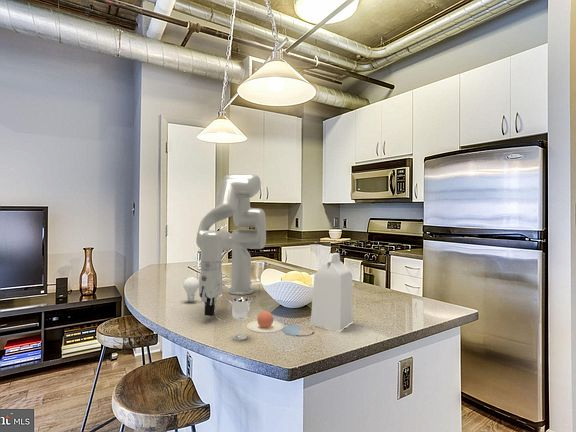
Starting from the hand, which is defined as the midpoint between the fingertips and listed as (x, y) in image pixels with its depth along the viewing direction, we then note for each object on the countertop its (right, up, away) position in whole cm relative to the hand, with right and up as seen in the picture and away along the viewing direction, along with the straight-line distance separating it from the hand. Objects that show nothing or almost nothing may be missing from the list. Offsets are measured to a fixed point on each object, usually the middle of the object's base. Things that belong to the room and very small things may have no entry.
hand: (209, 315), depth 127 cm
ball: (+21, 0, -7) cm, 22 cm away
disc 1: (+21, -2, -6) cm, 22 cm away
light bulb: (-13, -1, +23) cm, 26 cm away
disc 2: (+33, -3, -9) cm, 34 cm away
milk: (+45, -3, -2) cm, 45 cm away
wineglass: (+14, -2, -17) cm, 22 cm away
